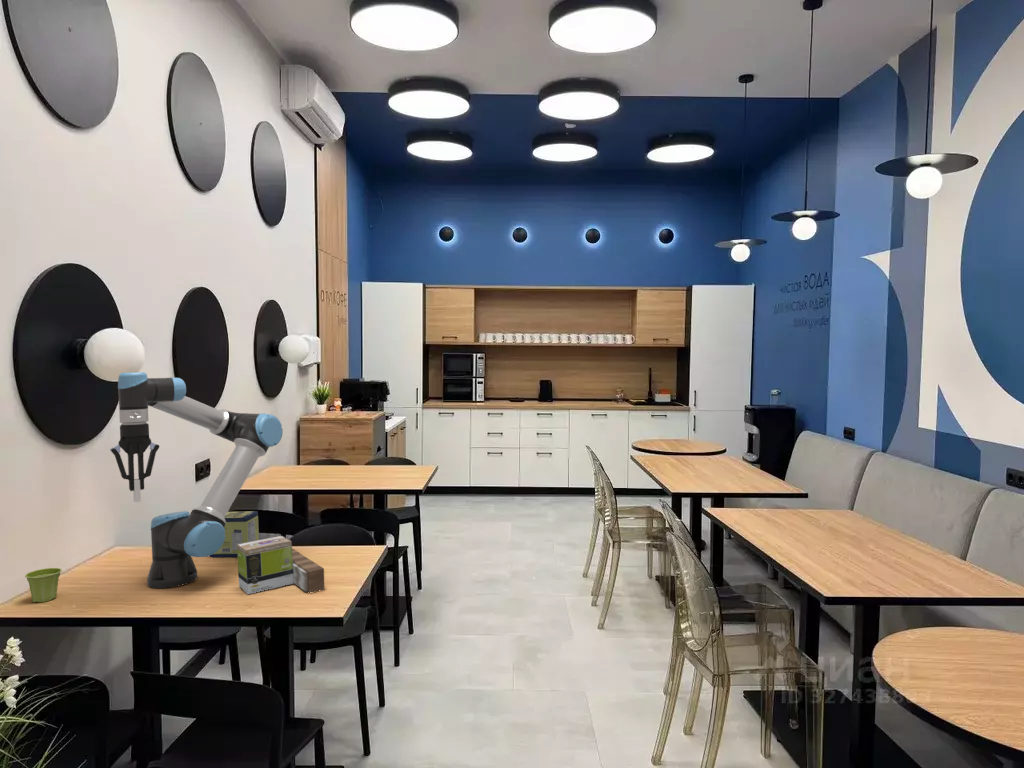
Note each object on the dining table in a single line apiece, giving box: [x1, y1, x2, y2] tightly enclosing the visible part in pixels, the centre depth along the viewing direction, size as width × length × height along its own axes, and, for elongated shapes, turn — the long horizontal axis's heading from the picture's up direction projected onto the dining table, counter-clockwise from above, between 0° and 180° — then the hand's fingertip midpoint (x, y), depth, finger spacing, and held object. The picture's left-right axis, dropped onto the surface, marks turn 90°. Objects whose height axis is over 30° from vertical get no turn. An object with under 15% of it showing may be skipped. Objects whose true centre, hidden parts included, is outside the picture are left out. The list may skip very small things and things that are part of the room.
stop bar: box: [292, 548, 325, 594], centre depth 215 cm, size 30×6×7 cm, turn 38°
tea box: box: [237, 535, 295, 595], centre depth 210 cm, size 15×10×15 cm, turn 128°
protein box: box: [208, 510, 260, 559], centre depth 248 cm, size 10×16×16 cm
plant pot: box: [24, 567, 63, 603], centre depth 202 cm, size 9×9×9 cm
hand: (137, 500), depth 193 cm, fingers closed
